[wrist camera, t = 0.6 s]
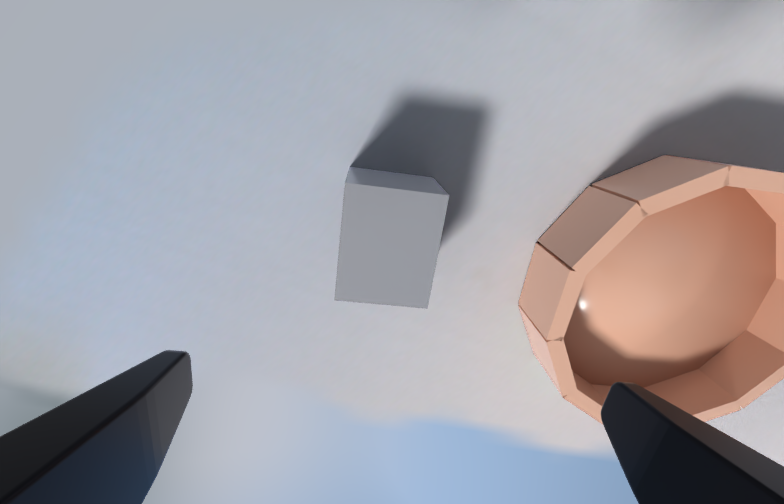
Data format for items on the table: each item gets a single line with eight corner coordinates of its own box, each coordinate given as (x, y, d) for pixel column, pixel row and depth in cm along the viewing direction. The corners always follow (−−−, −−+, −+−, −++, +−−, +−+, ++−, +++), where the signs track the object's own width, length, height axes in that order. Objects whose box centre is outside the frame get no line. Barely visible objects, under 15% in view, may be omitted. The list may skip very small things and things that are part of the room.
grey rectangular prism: (432, 177, 18) (449, 195, 14) (416, 270, 20) (427, 308, 16) (349, 166, 17) (345, 182, 14) (341, 262, 19) (334, 300, 15)
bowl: (822, 177, 19) (917, 191, 16) (703, 392, 24) (756, 436, 21) (565, 140, 17) (611, 148, 14) (496, 377, 22) (518, 423, 19)
